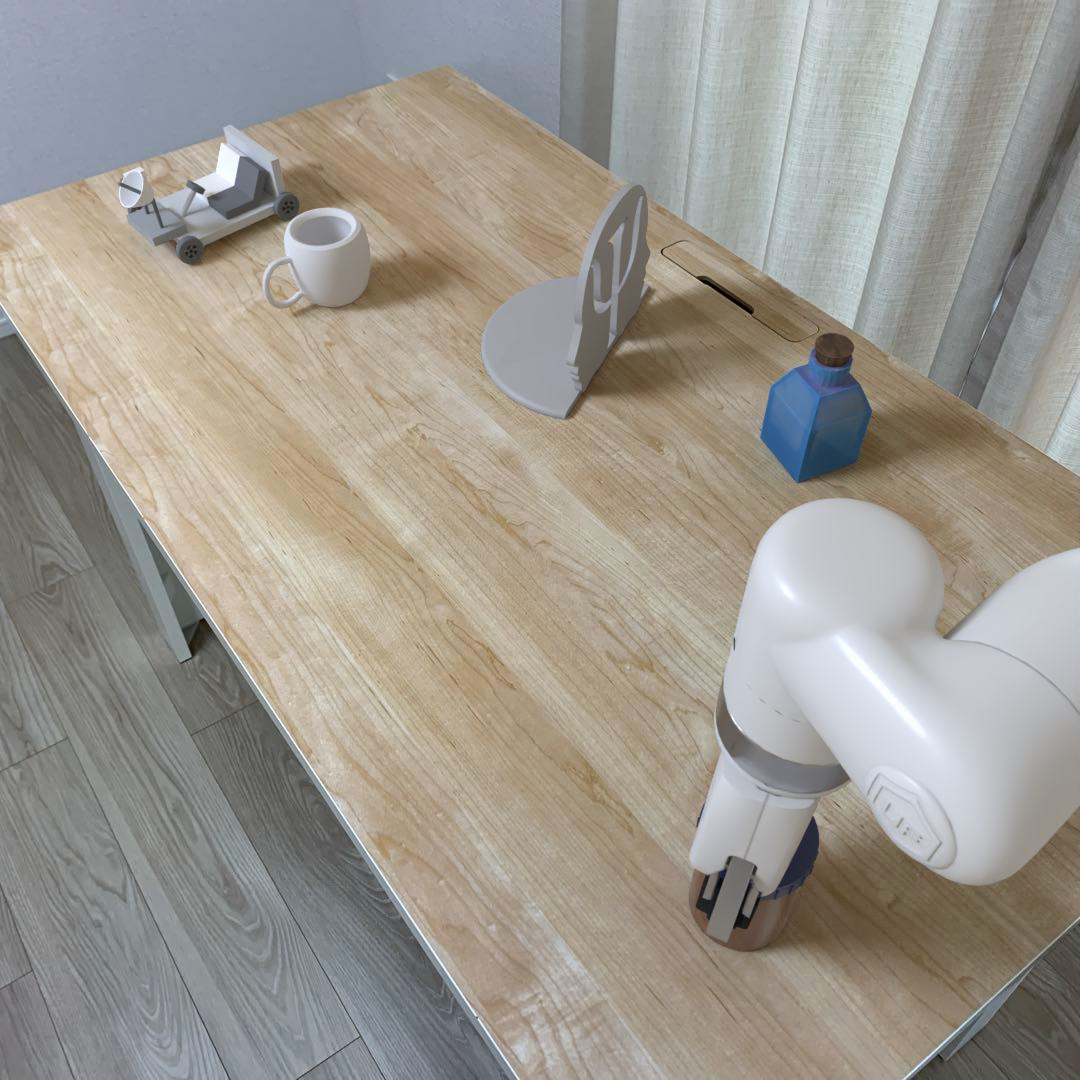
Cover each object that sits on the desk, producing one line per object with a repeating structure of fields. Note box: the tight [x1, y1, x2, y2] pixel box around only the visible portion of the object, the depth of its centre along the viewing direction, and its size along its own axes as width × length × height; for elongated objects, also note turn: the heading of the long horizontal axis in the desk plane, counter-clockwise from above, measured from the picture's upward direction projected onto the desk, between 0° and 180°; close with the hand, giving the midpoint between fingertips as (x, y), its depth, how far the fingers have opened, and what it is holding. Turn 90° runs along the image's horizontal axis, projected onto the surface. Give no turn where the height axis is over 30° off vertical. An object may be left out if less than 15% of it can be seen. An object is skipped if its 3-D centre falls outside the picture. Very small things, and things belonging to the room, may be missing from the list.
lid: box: [695, 800, 820, 902], centre depth 61 cm, size 7×7×2 cm
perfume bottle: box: [759, 332, 873, 484], centre depth 90 cm, size 6×6×12 cm
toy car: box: [117, 124, 301, 265], centre depth 115 cm, size 18×10×12 cm
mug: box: [261, 207, 372, 309], centre depth 106 cm, size 12×8×8 cm
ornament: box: [480, 182, 651, 420], centre depth 99 cm, size 22×13×17 cm, turn 155°
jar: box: [688, 868, 801, 952], centre depth 64 cm, size 6×6×9 cm
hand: (741, 858), depth 64 cm, fingers closed on lid, 6 cm apart
